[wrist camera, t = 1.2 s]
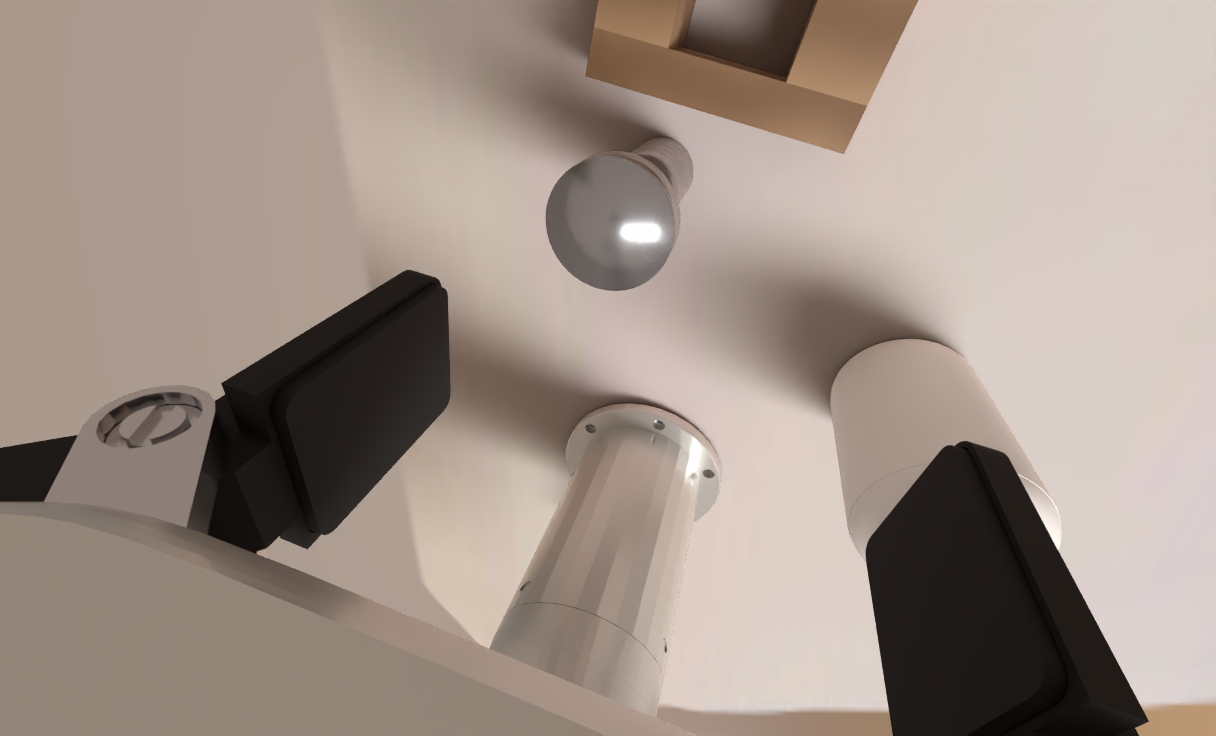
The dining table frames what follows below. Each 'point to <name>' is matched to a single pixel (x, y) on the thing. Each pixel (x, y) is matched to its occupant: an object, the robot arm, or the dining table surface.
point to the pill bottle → (914, 428)
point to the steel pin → (619, 213)
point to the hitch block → (789, 106)
